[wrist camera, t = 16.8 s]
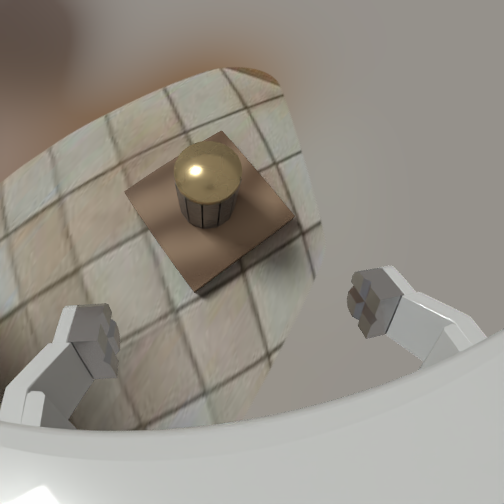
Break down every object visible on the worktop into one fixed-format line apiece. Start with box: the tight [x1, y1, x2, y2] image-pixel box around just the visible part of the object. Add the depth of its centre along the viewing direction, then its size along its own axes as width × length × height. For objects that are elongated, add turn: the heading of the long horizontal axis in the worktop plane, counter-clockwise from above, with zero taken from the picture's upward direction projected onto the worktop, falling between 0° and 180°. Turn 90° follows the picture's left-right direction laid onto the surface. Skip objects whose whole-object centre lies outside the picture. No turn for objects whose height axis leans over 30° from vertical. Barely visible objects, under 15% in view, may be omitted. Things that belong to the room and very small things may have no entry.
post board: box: [125, 131, 295, 293], centre depth 35 cm, size 14×14×2 cm
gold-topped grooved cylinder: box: [174, 141, 242, 229], centre depth 30 cm, size 6×6×8 cm
